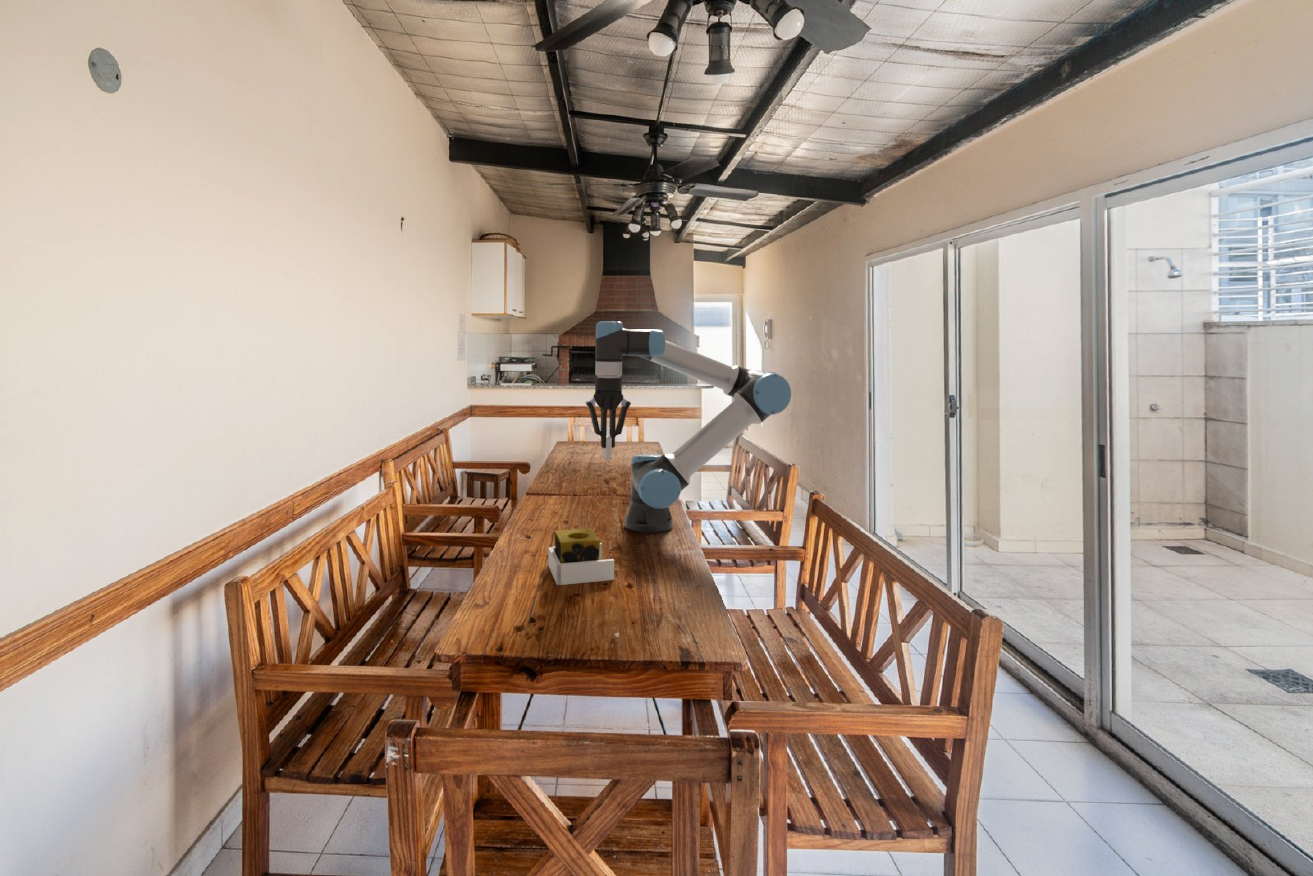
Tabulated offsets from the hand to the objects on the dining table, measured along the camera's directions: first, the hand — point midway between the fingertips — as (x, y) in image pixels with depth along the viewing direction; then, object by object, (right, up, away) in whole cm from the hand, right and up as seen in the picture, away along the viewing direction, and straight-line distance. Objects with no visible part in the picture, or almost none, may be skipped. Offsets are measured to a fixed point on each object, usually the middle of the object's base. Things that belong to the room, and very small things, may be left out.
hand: (607, 458), depth 183 cm
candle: (-6, -28, -22) cm, 37 cm away
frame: (-5, -28, -22) cm, 36 cm away
